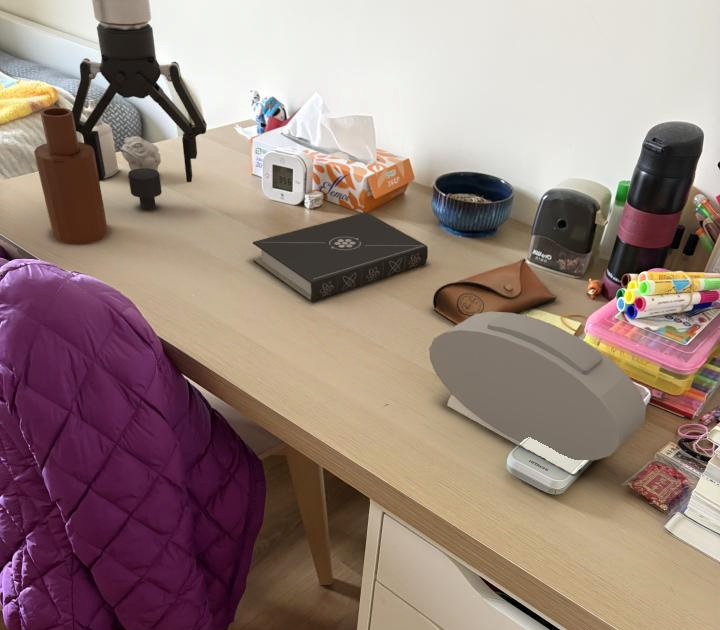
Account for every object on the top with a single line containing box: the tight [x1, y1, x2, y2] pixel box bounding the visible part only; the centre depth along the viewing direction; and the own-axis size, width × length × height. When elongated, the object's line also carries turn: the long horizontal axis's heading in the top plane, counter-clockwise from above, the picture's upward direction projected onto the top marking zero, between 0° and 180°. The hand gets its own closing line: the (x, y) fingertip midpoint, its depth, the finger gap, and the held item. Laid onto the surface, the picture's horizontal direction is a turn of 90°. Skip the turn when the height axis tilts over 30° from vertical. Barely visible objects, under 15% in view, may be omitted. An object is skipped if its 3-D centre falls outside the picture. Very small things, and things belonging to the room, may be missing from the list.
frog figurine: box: [120, 135, 162, 171], centre depth 124 cm, size 6×7×7 cm
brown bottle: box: [33, 107, 108, 245], centre depth 103 cm, size 8×8×17 cm
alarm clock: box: [428, 312, 647, 461], centre depth 76 cm, size 23×6×13 cm, turn 48°
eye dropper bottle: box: [80, 99, 119, 179], centre depth 122 cm, size 4×6×12 cm
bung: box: [127, 168, 163, 212], centre depth 115 cm, size 5×5×6 cm
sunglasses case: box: [432, 258, 558, 326], centre depth 100 cm, size 18×7×7 cm
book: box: [252, 211, 429, 303], centre depth 106 cm, size 22×15×3 cm
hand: (146, 178), depth 114 cm, fingers open, 13 cm apart
